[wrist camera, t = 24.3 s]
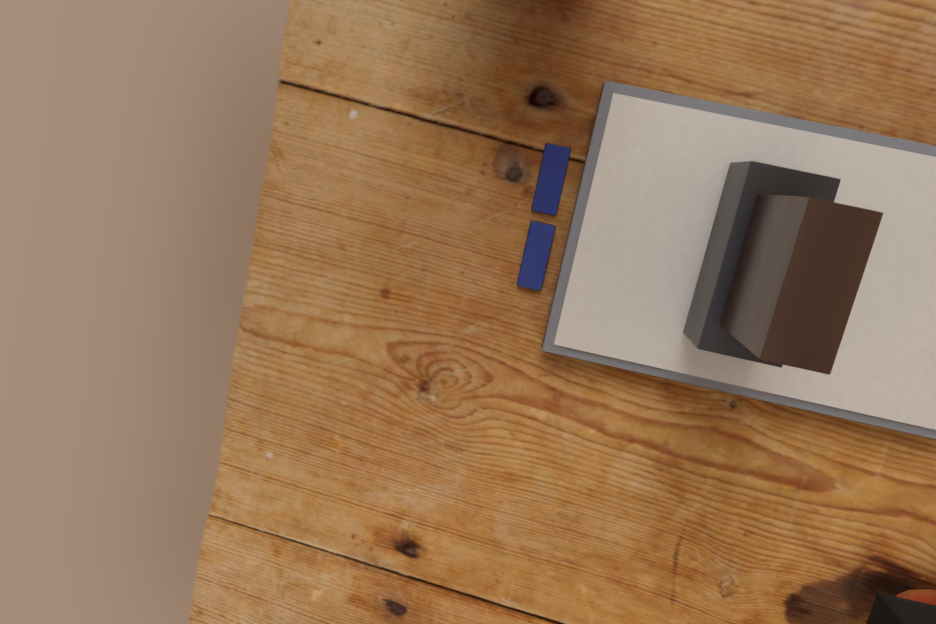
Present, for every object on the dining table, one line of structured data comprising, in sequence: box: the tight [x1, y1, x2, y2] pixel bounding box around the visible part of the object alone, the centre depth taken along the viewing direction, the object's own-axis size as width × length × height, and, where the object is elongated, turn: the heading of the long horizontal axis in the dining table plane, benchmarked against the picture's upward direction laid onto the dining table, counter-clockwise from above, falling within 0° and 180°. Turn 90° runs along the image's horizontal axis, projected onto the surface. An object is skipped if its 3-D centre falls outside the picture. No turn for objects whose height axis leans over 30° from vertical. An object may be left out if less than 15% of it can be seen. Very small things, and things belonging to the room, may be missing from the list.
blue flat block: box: [532, 143, 571, 216], centre depth 41 cm, size 4×2×1 cm, turn 169°
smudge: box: [517, 221, 556, 291], centre depth 42 cm, size 4×2×1 cm, turn 168°
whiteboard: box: [542, 81, 936, 439], centre depth 40 cm, size 24×16×1 cm, turn 78°
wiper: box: [683, 161, 883, 375], centre depth 34 cm, size 4×10×11 cm, turn 168°
